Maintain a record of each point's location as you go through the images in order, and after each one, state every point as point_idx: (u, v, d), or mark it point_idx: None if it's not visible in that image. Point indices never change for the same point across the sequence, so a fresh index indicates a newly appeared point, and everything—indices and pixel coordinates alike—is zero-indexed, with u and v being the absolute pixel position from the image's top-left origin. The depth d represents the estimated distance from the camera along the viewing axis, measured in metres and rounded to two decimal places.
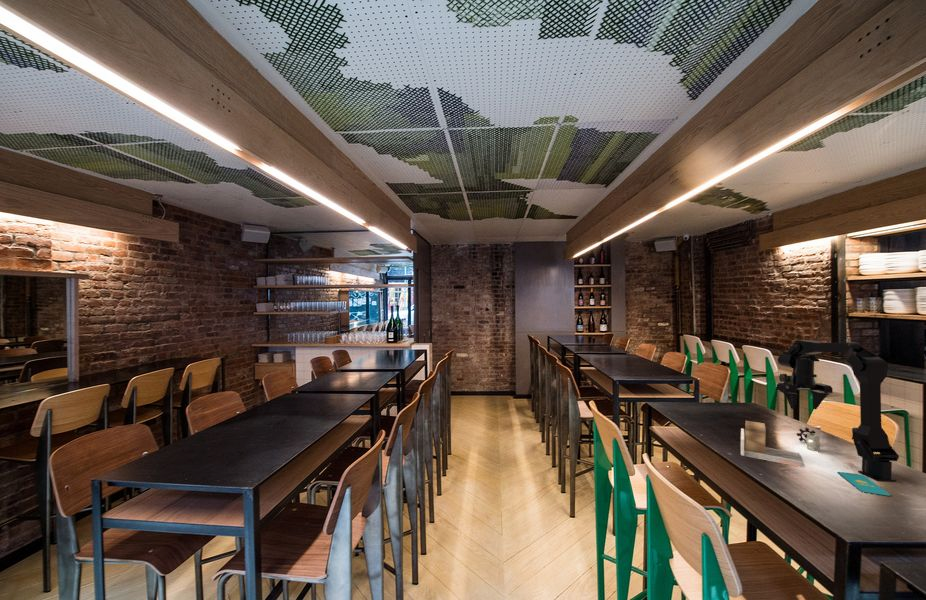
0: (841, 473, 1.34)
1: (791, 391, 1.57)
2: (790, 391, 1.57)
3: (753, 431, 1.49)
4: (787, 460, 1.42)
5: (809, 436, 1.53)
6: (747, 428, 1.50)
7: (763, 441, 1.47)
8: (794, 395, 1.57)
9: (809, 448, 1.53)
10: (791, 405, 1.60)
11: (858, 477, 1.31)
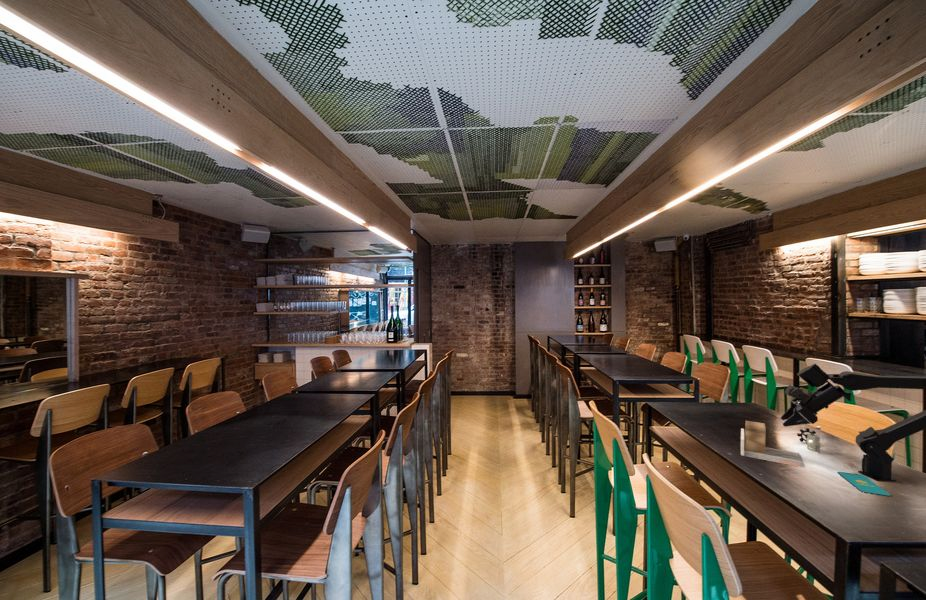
0: (841, 473, 1.34)
1: None
2: None
3: (753, 431, 1.49)
4: (787, 460, 1.42)
5: (809, 436, 1.53)
6: (747, 428, 1.50)
7: (763, 441, 1.47)
8: None
9: (809, 448, 1.53)
10: (787, 424, 1.42)
11: (858, 477, 1.31)
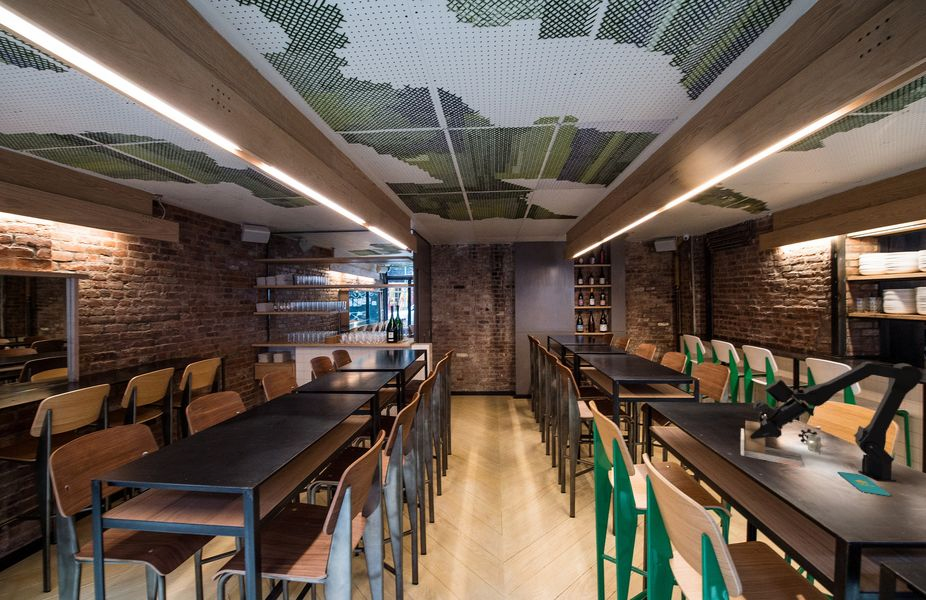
0: (841, 473, 1.34)
1: None
2: None
3: (753, 431, 1.49)
4: (787, 460, 1.42)
5: (810, 437, 1.52)
6: (747, 428, 1.50)
7: (763, 441, 1.47)
8: None
9: (810, 449, 1.52)
10: (754, 436, 1.48)
11: (858, 477, 1.31)
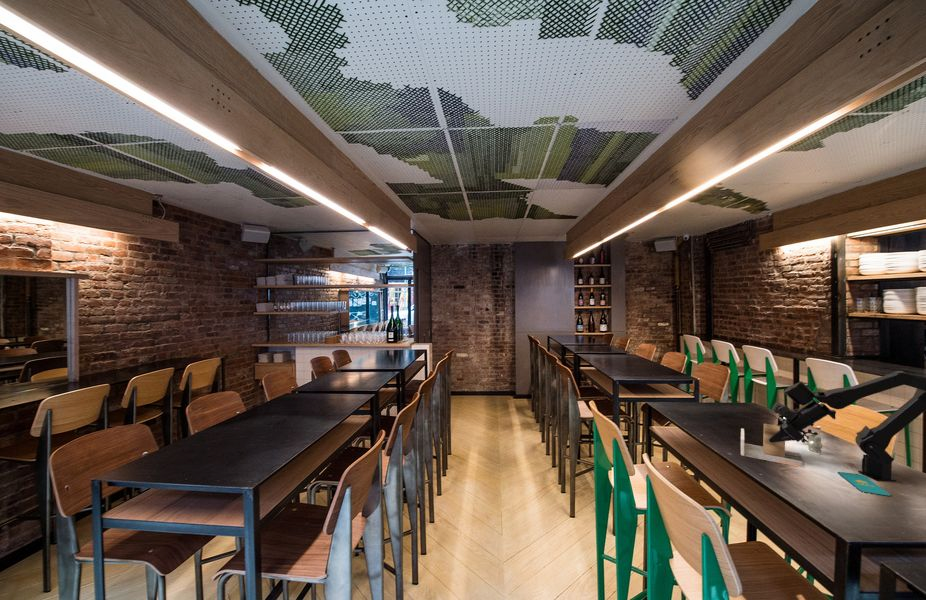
0: (841, 473, 1.34)
1: None
2: None
3: (772, 434, 1.46)
4: (787, 460, 1.42)
5: (810, 437, 1.52)
6: (766, 431, 1.47)
7: (783, 445, 1.44)
8: None
9: (810, 449, 1.52)
10: (773, 440, 1.45)
11: (858, 477, 1.31)
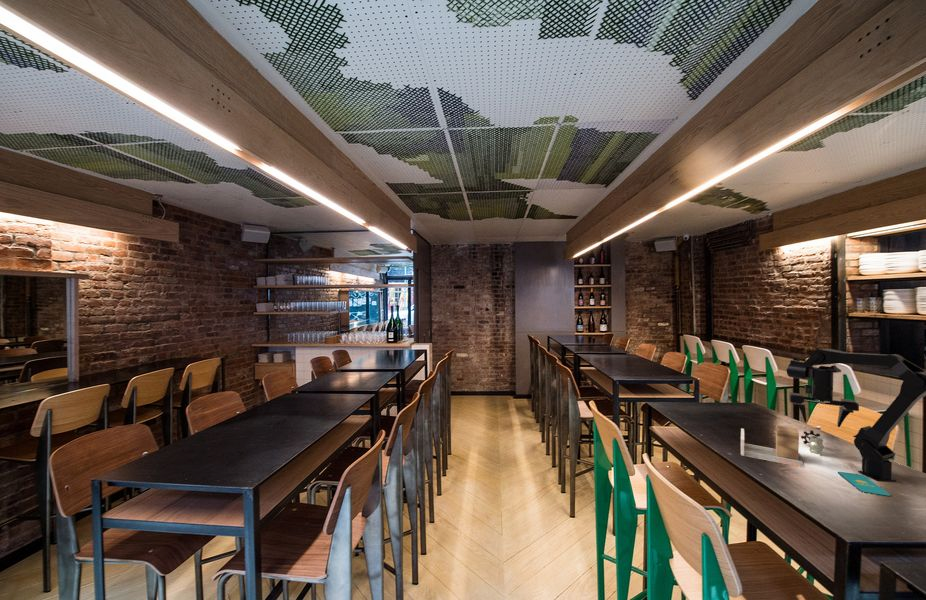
0: (841, 473, 1.34)
1: (795, 401, 1.48)
2: (794, 401, 1.48)
3: (785, 437, 1.43)
4: (787, 460, 1.42)
5: (811, 438, 1.51)
6: (779, 433, 1.45)
7: (796, 447, 1.42)
8: (800, 406, 1.47)
9: (811, 451, 1.51)
10: (803, 418, 1.49)
11: (859, 477, 1.31)
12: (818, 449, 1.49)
